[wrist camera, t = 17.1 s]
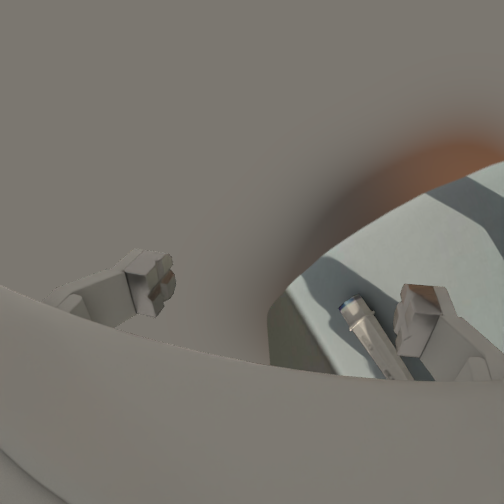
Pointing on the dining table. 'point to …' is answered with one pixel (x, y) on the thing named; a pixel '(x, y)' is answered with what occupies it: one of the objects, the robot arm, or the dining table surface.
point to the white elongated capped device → (374, 338)
